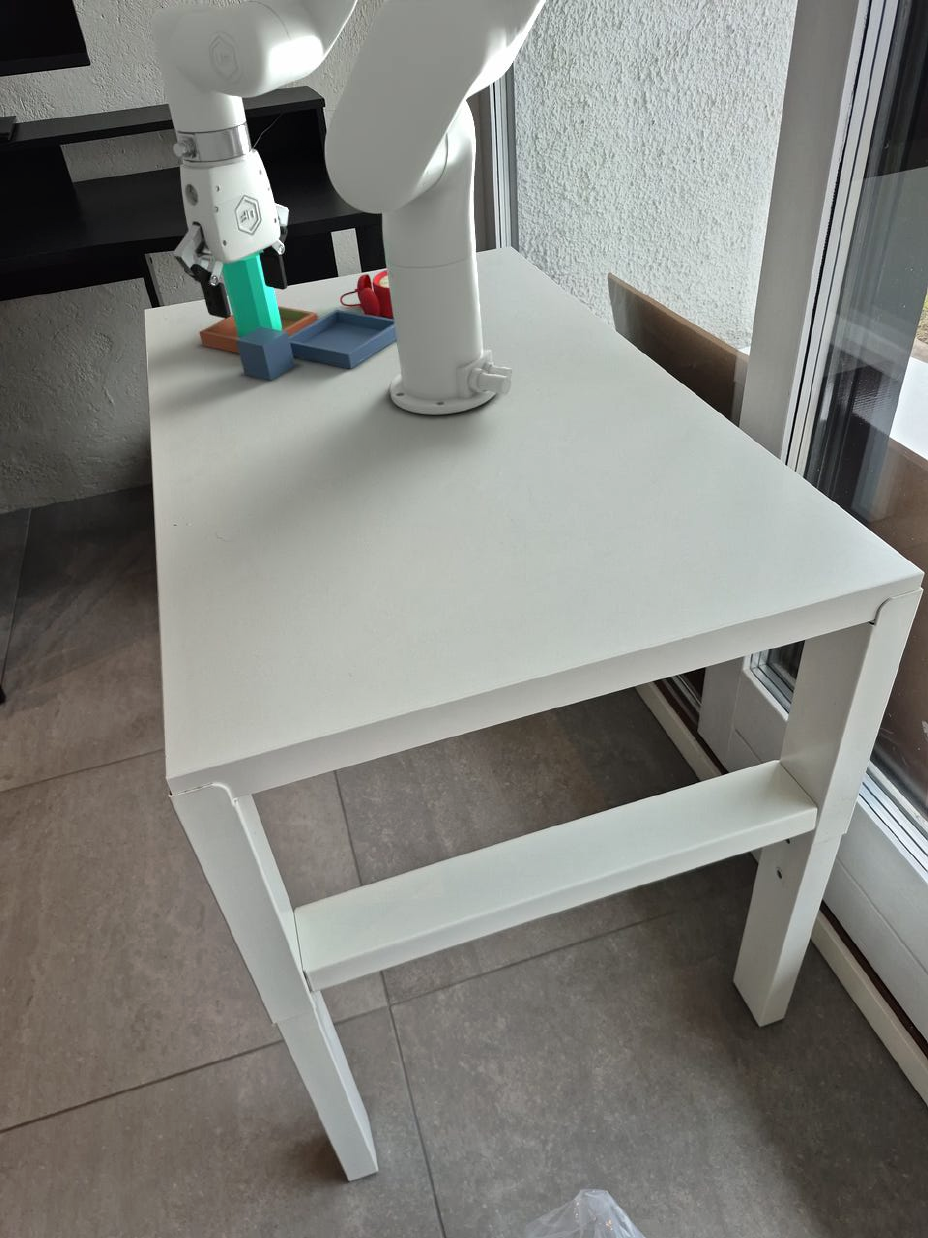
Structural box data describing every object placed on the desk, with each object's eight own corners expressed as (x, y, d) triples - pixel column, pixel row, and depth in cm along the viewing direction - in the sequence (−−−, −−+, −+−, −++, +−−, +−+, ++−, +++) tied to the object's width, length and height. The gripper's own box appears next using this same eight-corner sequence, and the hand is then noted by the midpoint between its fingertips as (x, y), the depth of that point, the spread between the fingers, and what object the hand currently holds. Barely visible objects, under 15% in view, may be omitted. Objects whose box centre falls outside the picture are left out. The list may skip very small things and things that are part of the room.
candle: (273, 341, 119) (252, 248, 112) (231, 341, 120) (207, 249, 113) (288, 323, 124) (269, 232, 116) (248, 324, 125) (226, 234, 117)
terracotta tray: (319, 326, 123) (316, 312, 122) (263, 358, 116) (259, 344, 115) (259, 315, 128) (256, 301, 127) (202, 345, 121) (198, 331, 120)
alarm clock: (458, 284, 120) (345, 276, 117) (452, 330, 124) (343, 323, 121) (444, 260, 128) (338, 251, 125) (439, 304, 132) (336, 297, 128)
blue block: (295, 366, 114) (287, 331, 111) (270, 380, 111) (262, 345, 108) (269, 360, 116) (260, 326, 113) (244, 374, 113) (235, 340, 110)
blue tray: (404, 334, 118) (402, 320, 117) (351, 369, 111) (348, 354, 110) (338, 322, 123) (336, 309, 122) (284, 354, 117) (280, 340, 115)
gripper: (179, 167, 90) (219, 333, 101) (294, 127, 100) (319, 281, 112) (129, 161, 93) (173, 322, 104) (245, 122, 104) (274, 273, 115)
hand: (249, 301), depth 108 cm, fingers open, 9 cm apart
